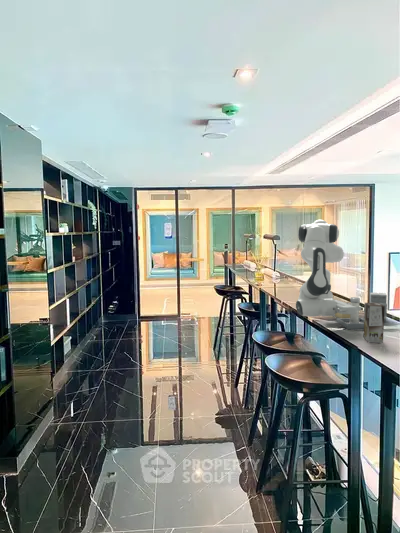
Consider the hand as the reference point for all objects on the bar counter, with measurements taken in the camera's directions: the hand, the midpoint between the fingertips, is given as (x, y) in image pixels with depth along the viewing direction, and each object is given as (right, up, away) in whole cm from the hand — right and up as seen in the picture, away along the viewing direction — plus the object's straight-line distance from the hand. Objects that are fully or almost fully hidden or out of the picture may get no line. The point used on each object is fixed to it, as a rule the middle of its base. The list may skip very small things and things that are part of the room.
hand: (355, 306), depth 198 cm
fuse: (0, -10, +1) cm, 10 cm away
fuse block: (+1, -9, +16) cm, 18 cm away
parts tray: (0, -10, +1) cm, 10 cm away
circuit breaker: (+15, -10, +8) cm, 20 cm away
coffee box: (-1, -13, -23) cm, 26 cm away
